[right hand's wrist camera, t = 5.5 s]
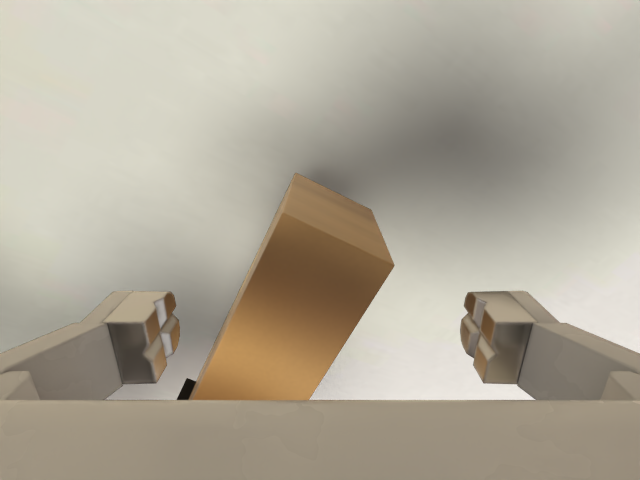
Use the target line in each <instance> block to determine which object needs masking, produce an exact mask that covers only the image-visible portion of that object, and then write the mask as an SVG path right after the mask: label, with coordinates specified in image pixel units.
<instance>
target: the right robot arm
mask: <svg viewBox="0 0 640 480" xmlns="http://www.w3.org/2000/svg"><path fill="white" fill-rule="evenodd" d="M175 307H176V303H175V298H174V295H173V294H172V293H171V292H157V291H115V292H112V293H111V294H110V295H109V296H108V297H107V298H106V299H105V300H104V301H103V302H102V303H101V304H100V305H98V306H97V307H96V308H95V309H94V310H93V311H92V312H91V313H90V314H89V315H88V316H87V317H86V318H85V319H84V320H83V321H81V322H80V323H73V324H70V325H68V326H65V327H63V328H61V329H58V330H56V331H53V332H51V333H49V334H46V335H44V336H41V337H39V338H37V339H34V340H32V341H29V342H27V343H25V344H22V345H20V346H17V347H15V348H12V349H10V350H8V351H5V352H3V353H0V480H640V354H639V353H637V352H635V351H632V350H630V349H627V348H625V347H623V346H620V345H618V344H615V343H613V342H611V341H608V340H606V339H603V338H601V337H599V336H596V335H594V334H591V333H589V332H587V331H584V330H582V329H579V328H577V327H575V326H572V325H570V324H567V323H560V322H559V321H558V320H556V319H555V318H554V317H553V316H552V315H551V314H550V313H549V312H548V311H547V310H546V309H545V308H544V307H543V306H542V305H541V304H540V303H538V302H537V301H536V300H535V299H534V298H533V297H532V296H531V295H530V294H529V293H528V292H525V291H491V292H468V293H467V295H466V298H465V302H464V307H465V309H466V310H467V312H468V314H467V315H466V316H465V317H464V318H463V319H462V320H461V327H460V335H461V342H462V345H463V348H464V350H465V351H466V353H467V354H468V355H470V356H471V357H473V358H474V363H473V366H474V368H475V369H476V371H477V373H478V374H479V376H480V378H481V380H482V381H483V383H492V384H518V385H517V386H518V387H520V388H521V389H522V390H524V391H525V392H526V393H528V394H529V395H530V396H532V397H533V398H534V399H536V400H105V399H106V398H107V397H109V396H110V395H111V394H113V393H114V392H115V391H116V390H118V389H119V388H120V387H122V386H123V385H122V384H147V383H157V381H158V380H159V378H160V376H161V374H162V373H163V371H164V369H165V368H166V366H167V363H166V358H167V357H169V356H170V355H172V354H173V353H174V351H175V350H176V348H177V345H178V341H179V337H180V326H179V320H178V319H177V318H176V317H175V316H174V315H173V314H172V312H173V310H174V309H175Z"/></svg>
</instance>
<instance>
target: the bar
mask: <svg viewBox="0 0 640 480" xmlns="http://www.w3.org/2000/svg"><path fill="white" fill-rule="evenodd" d="M393 267H394V263H393V260H392V258H391V256H390V253H389V251H388V248H387V246H386V244H385V241H384V239H383V236H382V234H381V232H380V229H379V227H378V224H377V222H376V220H375V217H374V215H373V212H372V210H371V209H369V208H367V207H365V206H363V205H360V204H358V203H356V202H354V201H352V200H350V199H348V198H346V197H344V196H342V195H340V194H338V193H336V192H334V191H332V190H330V189H328V188H326V187H324V186H322V185H320V184H318V183H316V182H314V181H312V180H310V179H308V178H306V177H304V176H301V175H299V174H297V173H295V174H294V176H293V179H292V181H291V183H290V185H289V187H288V189H287V191H286V193H285V195H284V198H283V200H282V202H281V204H280V206H279V208H278V210H277V212H276V214H275V216H274V219H273V221H272V223H271V225H270V227H269V229H268V231H267V233H266V235H265V238H264V240H263V242H262V244H261V246H260V248H259V250H258V252H257V254H256V256H255V259H254V261H253V263H252V265H251V267H250V269H249V271H248V273H247V275H246V278H245V280H244V282H243V284H242V286H241V288H240V290H239V292H238V294H237V296H236V299H235V301H234V303H233V305H232V307H231V309H230V311H229V313H228V315H227V318H226V320H225V322H224V324H223V326H222V328H221V330H220V332H219V334H218V336H217V339H216V341H215V343H214V345H213V347H212V349H211V351H210V353H209V355H208V358H207V360H206V362H205V364H204V366H203V368H202V370H201V372H200V374H199V376H198V379H197V381H196V383H195V386H194V388H193V390H192V392H191V395H190V397H189V399H188V400H309V399H310V397H311V396H312V394H313V392H314V391H315V389H316V388H317V386H318V385H319V383H320V382H321V380H322V378H323V377H324V375H325V374H326V372H327V371H328V369H329V367H330V366H331V364H332V363H333V361H334V360H335V358H336V356H337V355H338V353H339V352H340V350H341V349H342V347H343V346H344V344H345V342H346V341H347V339H348V338H349V336H350V335H351V333H352V331H353V330H354V328H355V327H356V325H357V324H358V322H359V321H360V319H361V317H362V316H363V314H364V313H365V311H366V310H367V308H368V306H369V305H370V303H371V302H372V300H373V299H374V297H375V295H376V294H377V292H378V291H379V289H380V288H381V286H382V285H383V283H384V281H385V280H386V278H387V277H388V275H389V274H390V272H391V270H392V269H393Z"/></svg>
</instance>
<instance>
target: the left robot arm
mask: <svg viewBox="0 0 640 480" xmlns="http://www.w3.org/2000/svg"><path fill="white" fill-rule="evenodd" d="M195 383H196V381H193V380H190V379H188V378H187V379H186V381H185V383H184V385H183V387H182V390H181V392H180V394H179V396H178V398H177V400H188V399H189V397H190V395H191V392H192V390H193V388H194V386H195Z"/></svg>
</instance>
